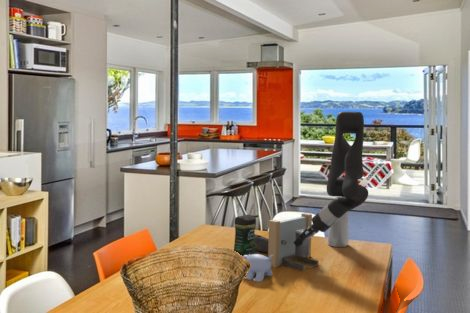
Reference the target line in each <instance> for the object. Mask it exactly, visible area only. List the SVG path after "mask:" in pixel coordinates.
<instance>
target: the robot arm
mask: <svg viewBox="0 0 470 313" xmlns="http://www.w3.org/2000/svg"><path fill="white" fill-rule="evenodd" d="M364 118H365V117H364V114H363V113H362V112H360V111H339V112H338V113H337V114H336V121H335V131H334V133H335V134H334V142H333V148H332V153H331V158H330V161H331V162H330V169H329V174H328V178H327V182H326V193H327V195H328V196H330V197H335V198H334V199H332V200H331V201H330V202H329V203H328V204H327V205H325V206H324V207H323V208H322V209H320V210H319V211H318V212H317V213H316V214H315V215H313V216H312V225H310V226H308V228H307V229H305V230H304V231H303V233H301V234H300V235H299V236H298V237H299V238H298V239H296V240H295V241H294V244H295V245H296V246H298V245H299V244H300V243H302V242H303V241H304V240H305V239H307V238H310V237H311V238H312V237H314V236H315V235H316V234H318V233H319V232H321V233H325V232H326V231H327V232H328V233H327V245H328V246H330V247H334V248H346V247H347V246H348V245H349V211H351V210H353V209H355V208H357V207H359V206H361V205H362V204H364V203H365V202H366V201H367V199H368V197H369V190H368V189H367V187H366V186H364V185H362V184H359V182H358V181H359V180H361V179H362V178H363V177H364V164H363V151H364V150H363V148H364V135H365V133H364V131H365V122H364V120H365V119H364ZM344 134H350V135H351V134H354V135H355V138H354V141H353V143H352V144H351V145H350V143H349V142H348V141H347V139H346V138H345V136H344ZM344 173H345V174H344ZM343 174H344V177H341V175H343ZM302 236H303V237H304V238H303V237H302Z"/></svg>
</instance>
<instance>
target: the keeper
mask: <svg viewBox="0 0 470 313" xmlns="http://www.w3.org/2000/svg"><path fill="white" fill-rule="evenodd" d="M282 266H285V267H288V268H291V269H294V270H297V271H301V272H302V271H306V270H308V269H311V268H314V267H317V266H319V260H318V259H314V258H310V257H305V256H300V255H296V254H295V255H291V256H288V257H285V258H283V264H282Z"/></svg>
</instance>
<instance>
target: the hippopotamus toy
mask: <svg viewBox="0 0 470 313" xmlns="http://www.w3.org/2000/svg"><path fill="white" fill-rule="evenodd" d="M272 256H273V255H271V256H270V257H269V258H268V256H266V255H264V254H261V253H255V254H252V255H250V254H249V255H244V256H243V257H244V258H245V259H246V260H248V261H249V263H250V265H251V266H250V270H249V271H248V270H247V271H248V273H247V272H246V275H245V276H246V277H245V276H244V277H245V278H244V279H245V280H252V281H253V282H258V283H259V282H263V281H264V278H265V277H271V276H273V272H272V266H271V261H270V260H271V257H272Z"/></svg>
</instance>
